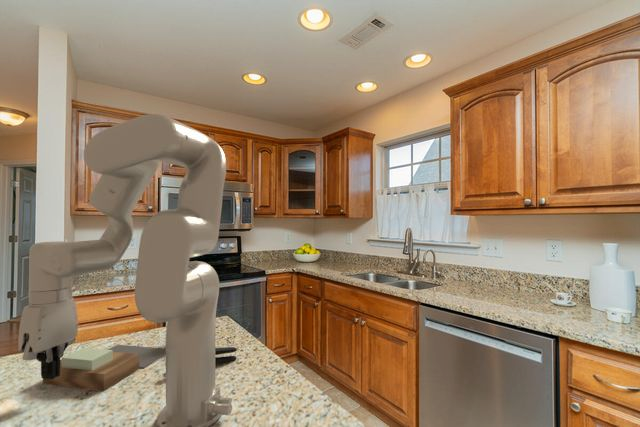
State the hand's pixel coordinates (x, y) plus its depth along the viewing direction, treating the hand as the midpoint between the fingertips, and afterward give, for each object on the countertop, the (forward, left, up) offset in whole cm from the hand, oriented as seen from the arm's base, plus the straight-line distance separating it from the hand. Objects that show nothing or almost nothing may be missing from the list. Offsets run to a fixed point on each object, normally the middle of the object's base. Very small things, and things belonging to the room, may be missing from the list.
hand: (50, 376), depth 71 cm
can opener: (-26, -20, -6) cm, 34 cm away
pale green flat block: (0, -9, 0) cm, 9 cm away
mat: (0, -23, -5) cm, 23 cm away
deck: (0, -11, -5) cm, 12 cm away
